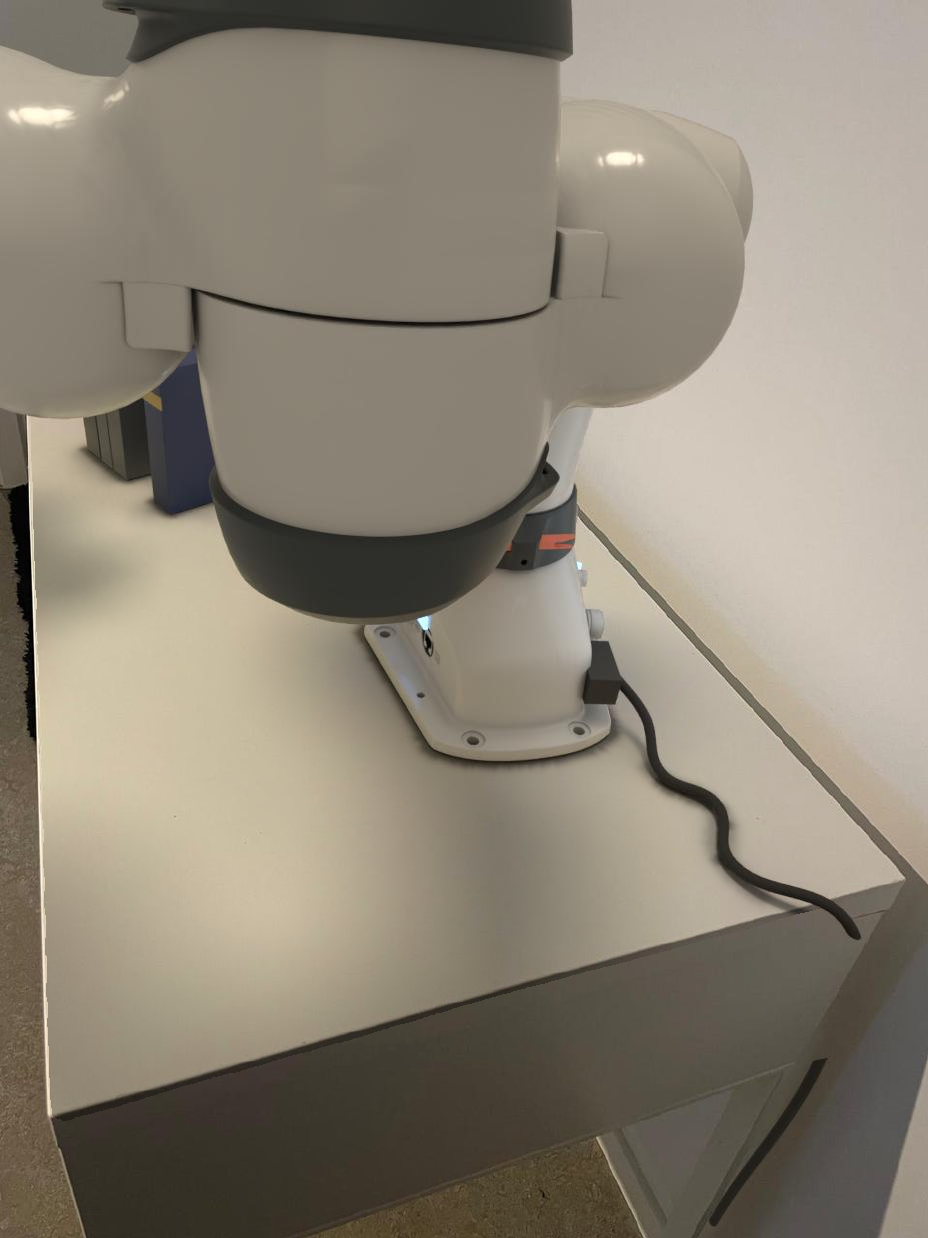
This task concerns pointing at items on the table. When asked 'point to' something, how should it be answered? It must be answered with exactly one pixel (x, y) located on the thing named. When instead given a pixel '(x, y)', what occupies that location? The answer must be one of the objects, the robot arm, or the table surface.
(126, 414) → the grey books
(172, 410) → the navy book
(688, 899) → the table surface
